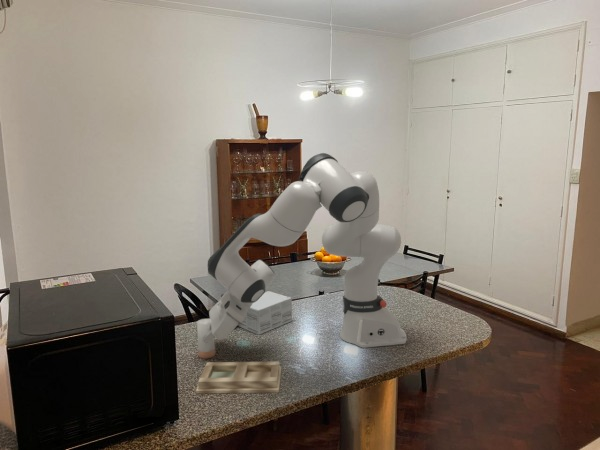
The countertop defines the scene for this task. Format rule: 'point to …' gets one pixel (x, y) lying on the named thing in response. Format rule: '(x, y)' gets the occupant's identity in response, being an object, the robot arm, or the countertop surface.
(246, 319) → the supplement box
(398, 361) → the countertop surface
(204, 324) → the white dome lamp
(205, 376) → the two-pocket rack
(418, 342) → the countertop surface
